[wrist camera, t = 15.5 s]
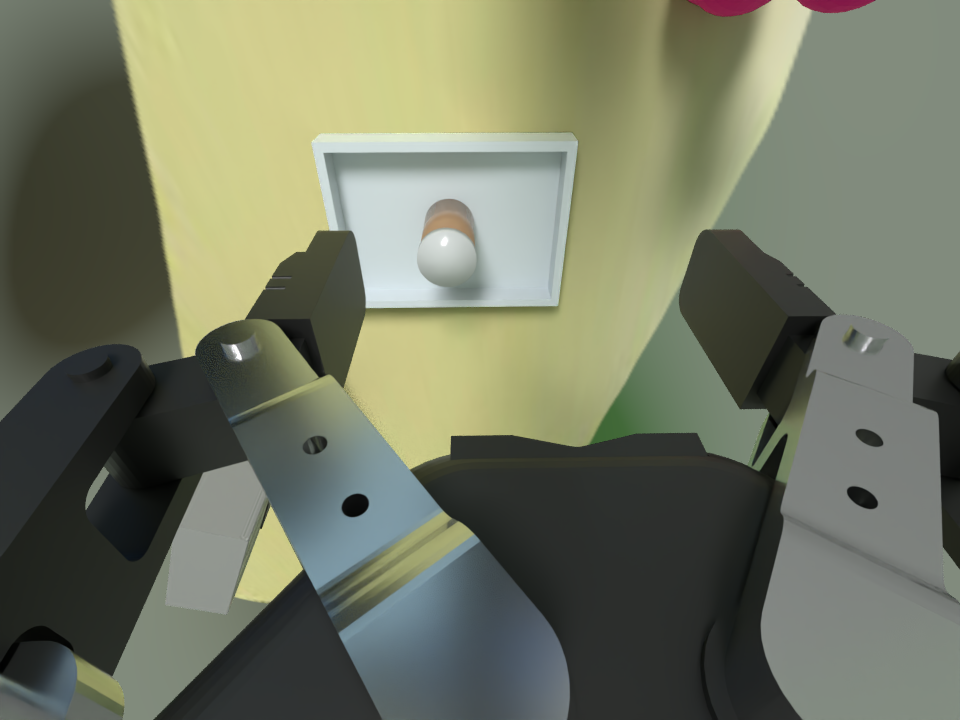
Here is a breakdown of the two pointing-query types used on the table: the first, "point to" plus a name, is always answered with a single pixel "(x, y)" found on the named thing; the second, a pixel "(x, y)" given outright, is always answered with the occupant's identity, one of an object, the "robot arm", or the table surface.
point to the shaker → (447, 244)
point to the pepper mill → (734, 3)
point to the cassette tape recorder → (216, 539)
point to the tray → (461, 176)
